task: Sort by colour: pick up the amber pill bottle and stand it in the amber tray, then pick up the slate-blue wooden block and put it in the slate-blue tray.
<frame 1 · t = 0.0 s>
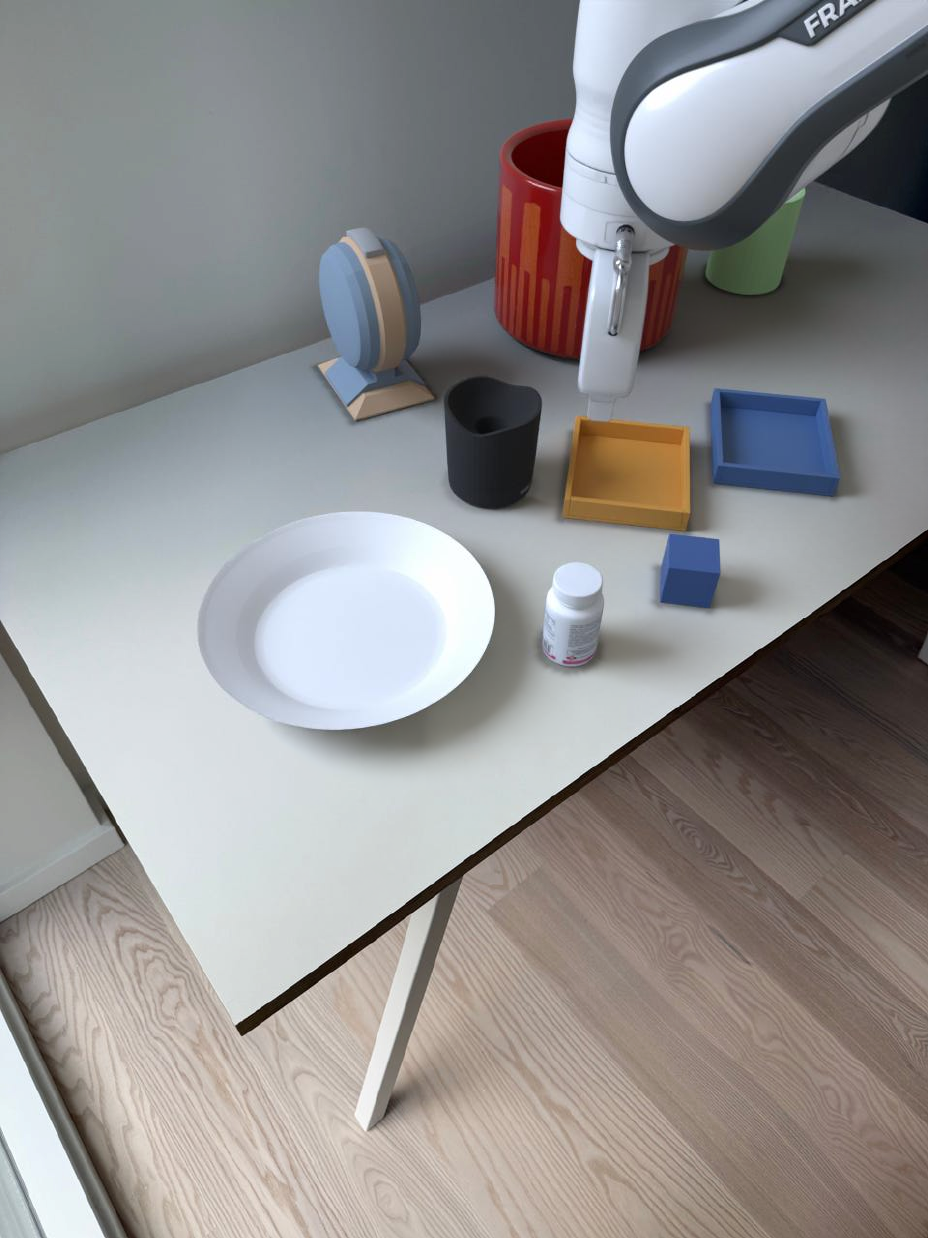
hand: (603, 380, 69), 21 cm above the table, tool pointing down, fingers open, 8 cm apart
blue tray: (768, 448, 97), on the table
bowl: (351, 637, 78), on the table
pen holder: (489, 484, 93), on the table
mug: (734, 274, 124), on the table
planter: (582, 320, 115), on the table
alarm clock: (375, 384, 105), on the table
pill bottle: (568, 648, 78), on the table
blue block: (684, 588, 83), on the table
amber tray: (626, 479, 93), on the table
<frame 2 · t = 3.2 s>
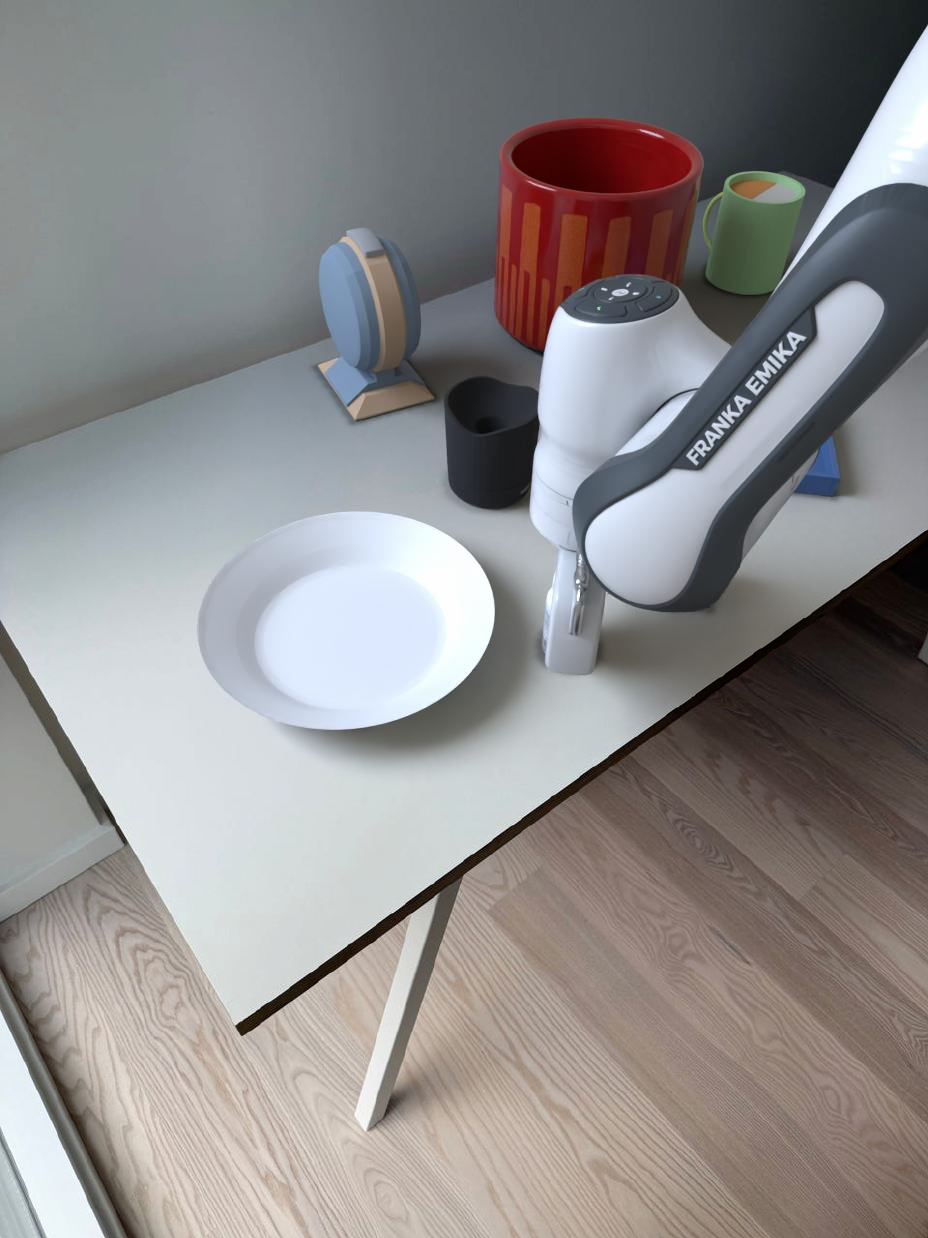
hand: (572, 622, 75), 3 cm above the table, tool pointing down, fingers closed on pill bottle, 5 cm apart
pill bottle: (568, 648, 78), on the table, touching gripper
everything else where it was.
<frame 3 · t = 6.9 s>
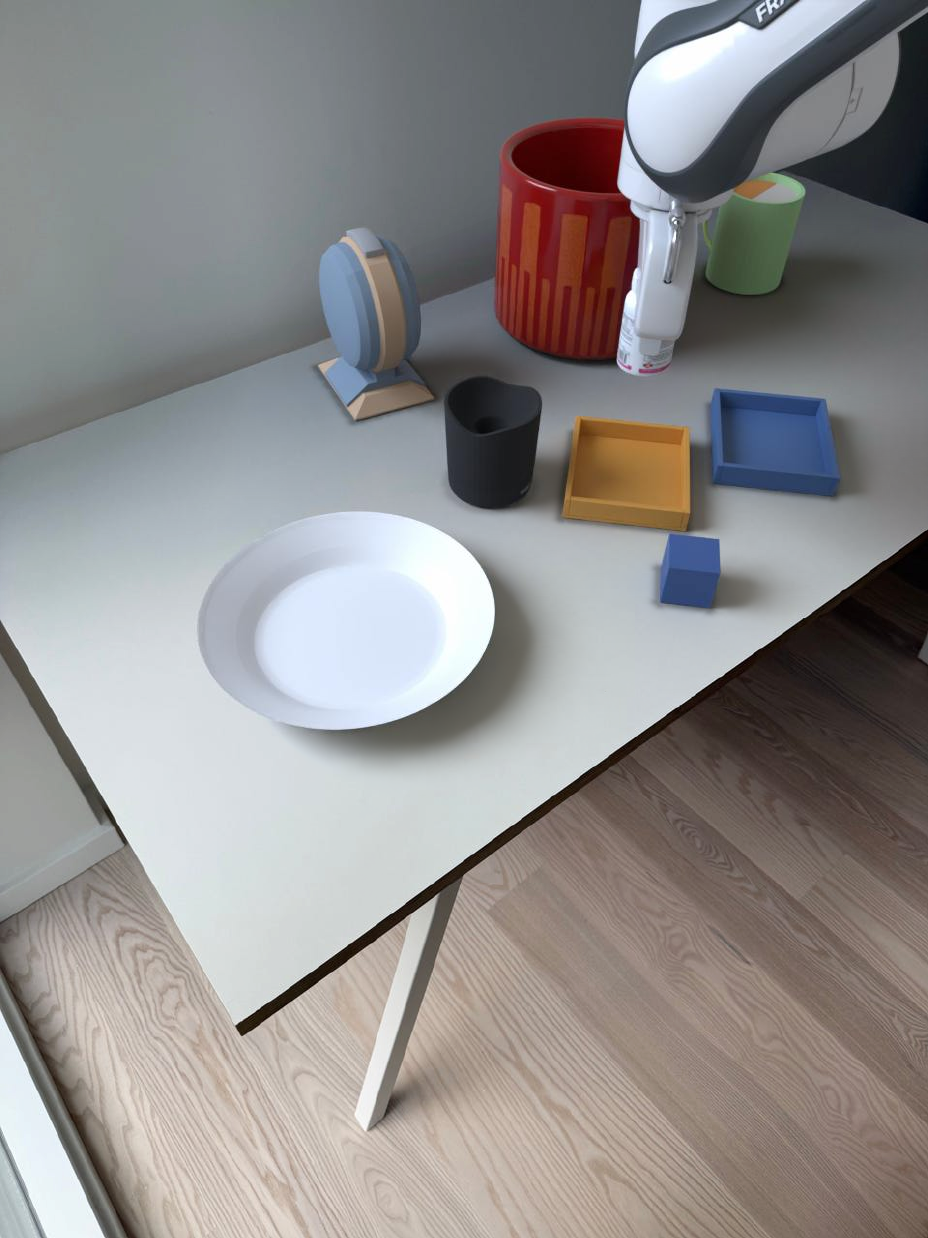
hand: (649, 331, 78), 19 cm above the table, tool pointing down, fingers closed on pill bottle, 5 cm apart
pill bottle: (642, 365, 80), point 15 cm above the table, touching gripper
everything else where it was.
when the fingers open (3 cm above the table, at t = 10.8 s): pill bottle stays where it is, resting on amber tray.
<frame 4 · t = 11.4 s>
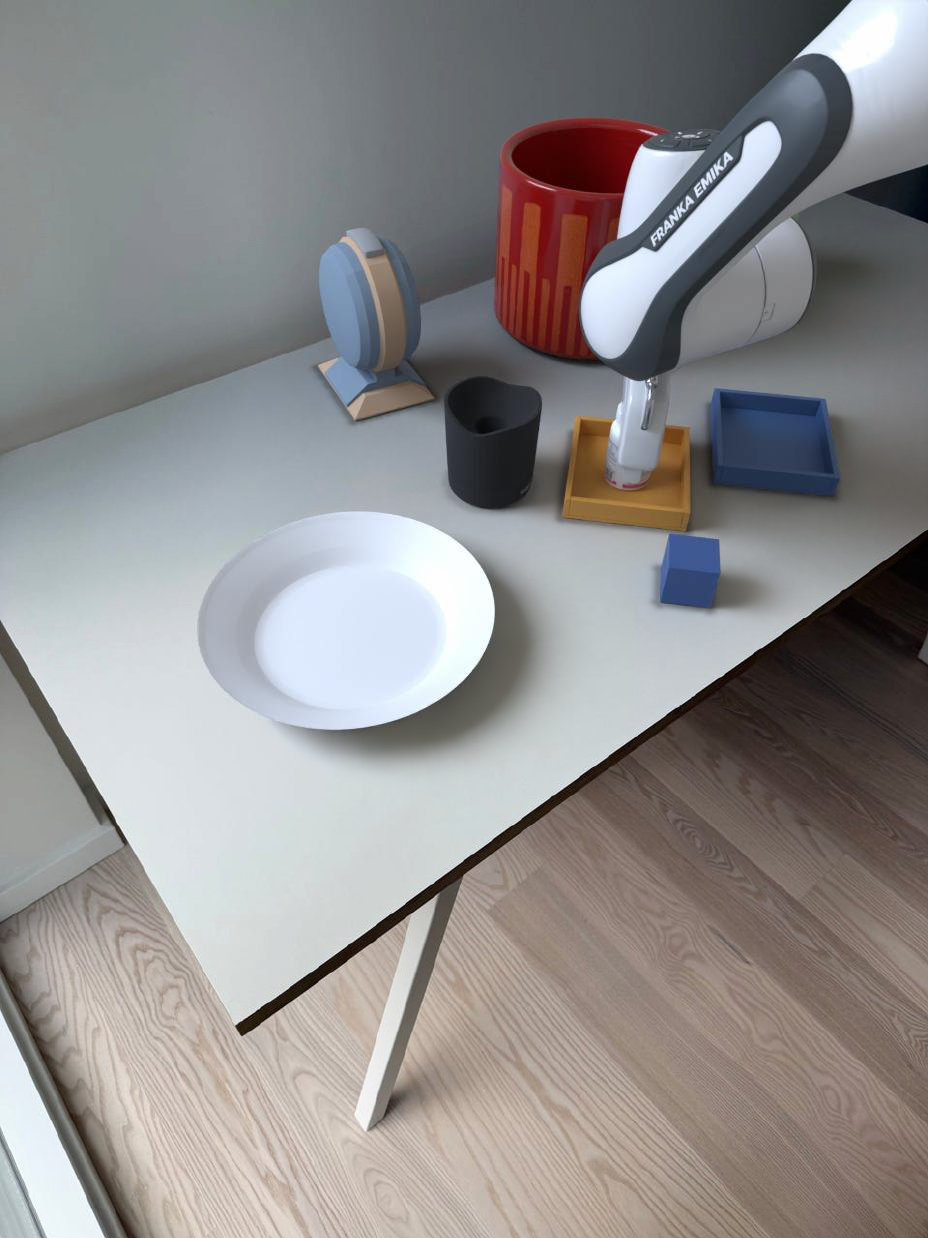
hand: (632, 449, 90), 4 cm above the table, tool pointing down, fingers open, 8 cm apart
pill bottle: (626, 479, 93), resting on amber tray
everything else where it was.
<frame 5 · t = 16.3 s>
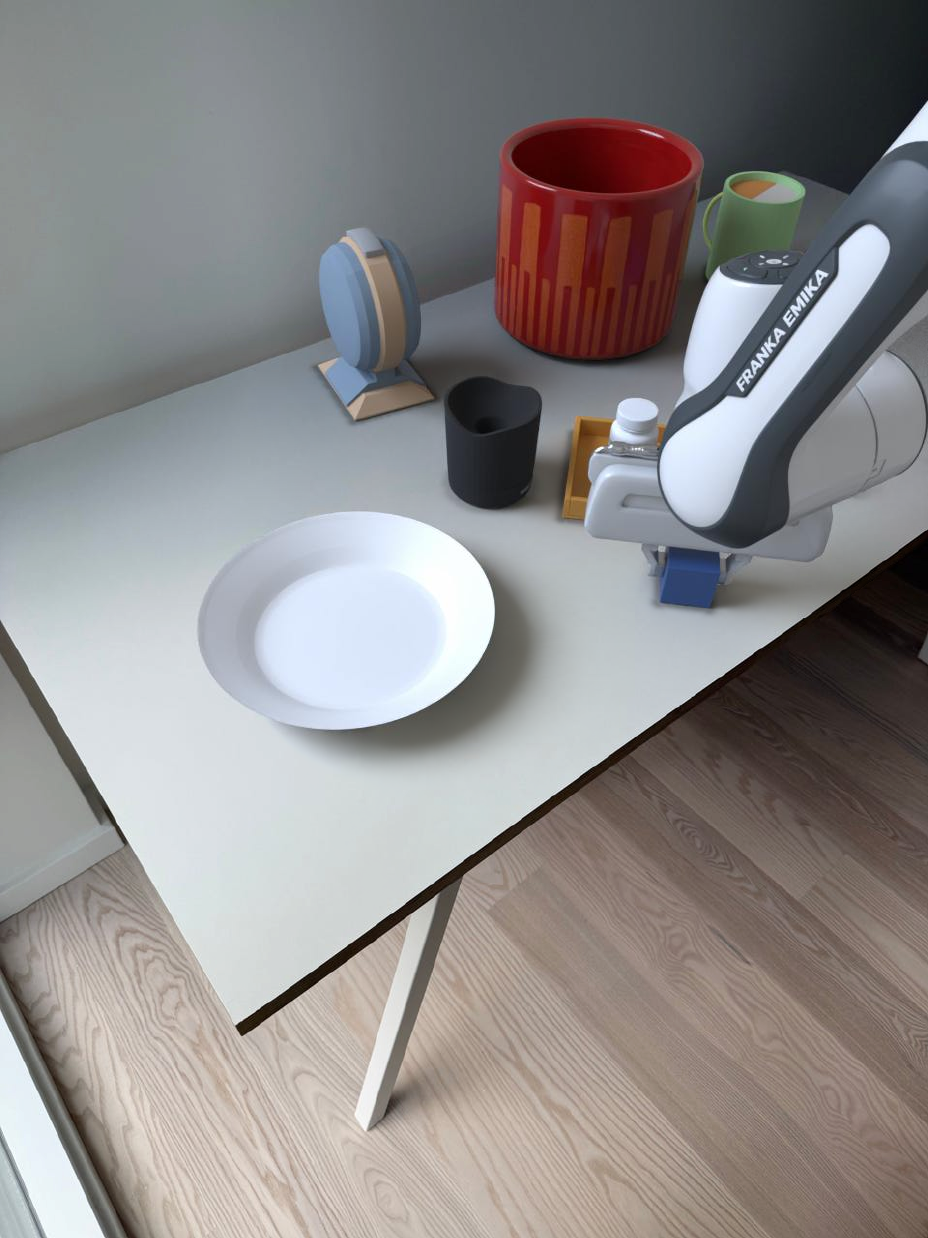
hand: (688, 576, 81), 2 cm above the table, tool pointing down, fingers closed on blue block, 4 cm apart
blue block: (684, 588, 83), on the table, touching gripper
everything else where it was.
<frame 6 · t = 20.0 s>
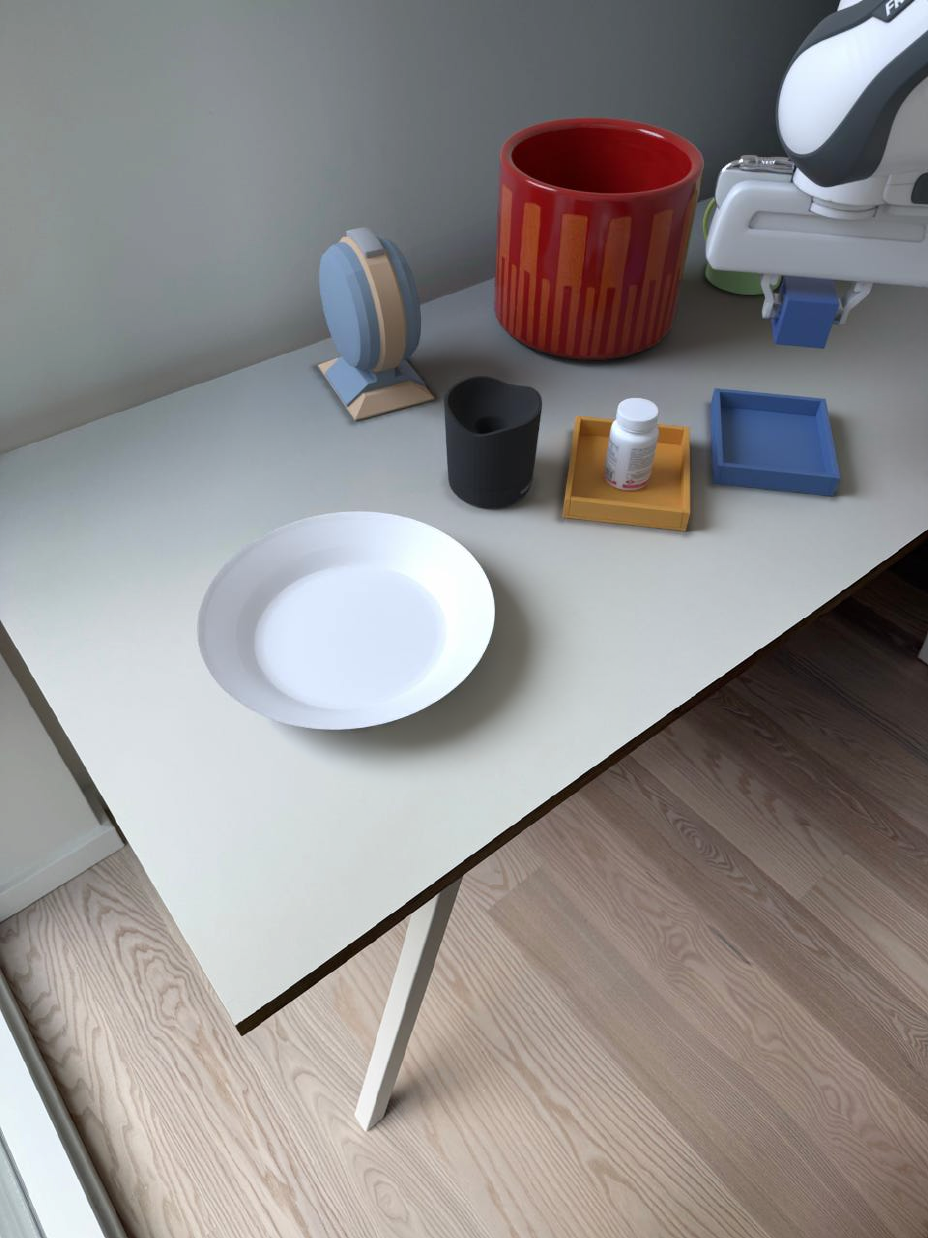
hand: (802, 318, 83), 17 cm above the table, tool pointing down, fingers closed on blue block, 4 cm apart
blue block: (797, 334, 84), point 15 cm above the table, touching gripper
everything else where it was.
when the fingers open (2 cm above the table, at t = 23.8 s): blue block stays where it is, resting on blue tray.
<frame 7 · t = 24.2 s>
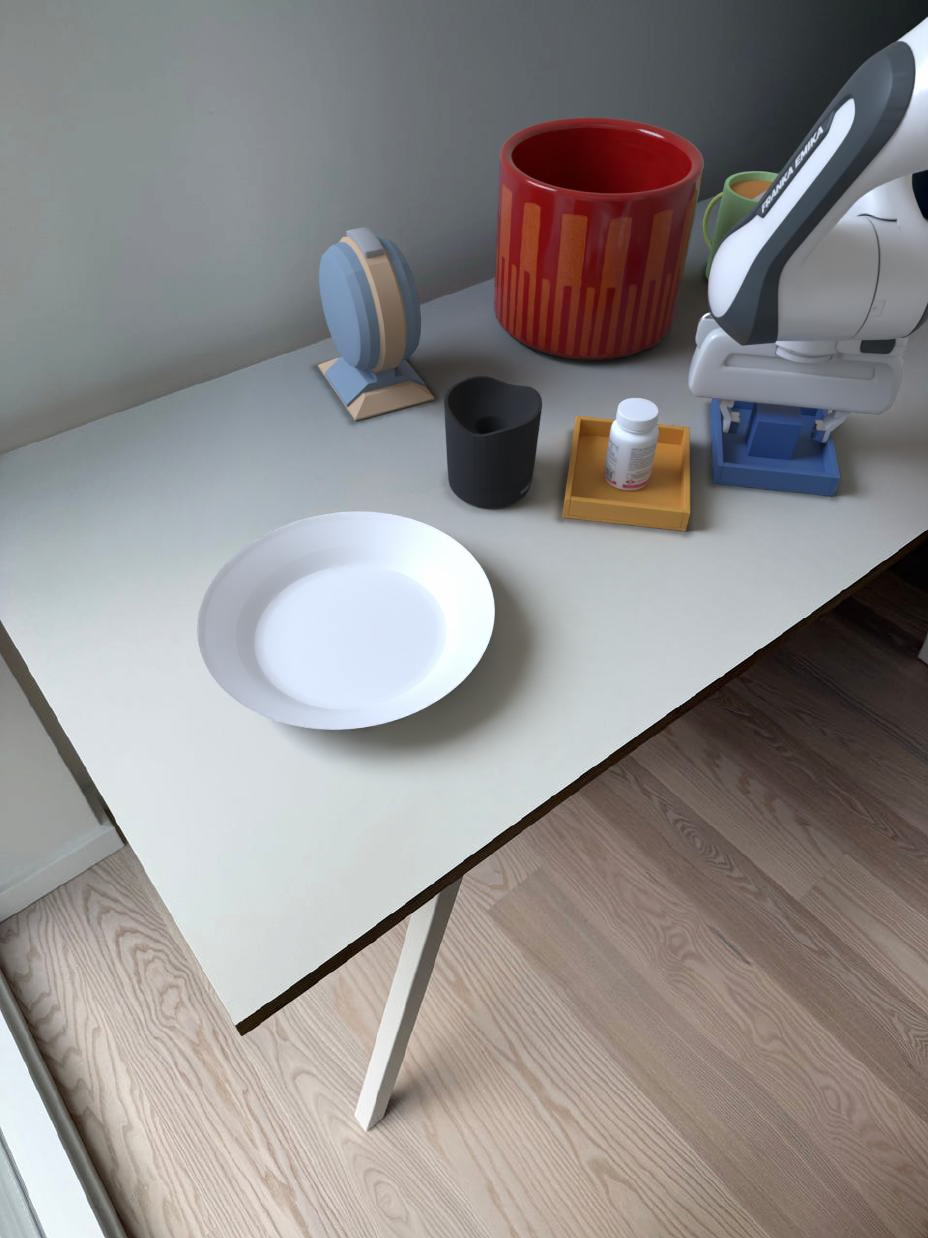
hand: (773, 434, 96), 2 cm above the table, tool pointing down, fingers open, 8 cm apart
blue block: (767, 445, 97), resting on blue tray
everything else where it was.
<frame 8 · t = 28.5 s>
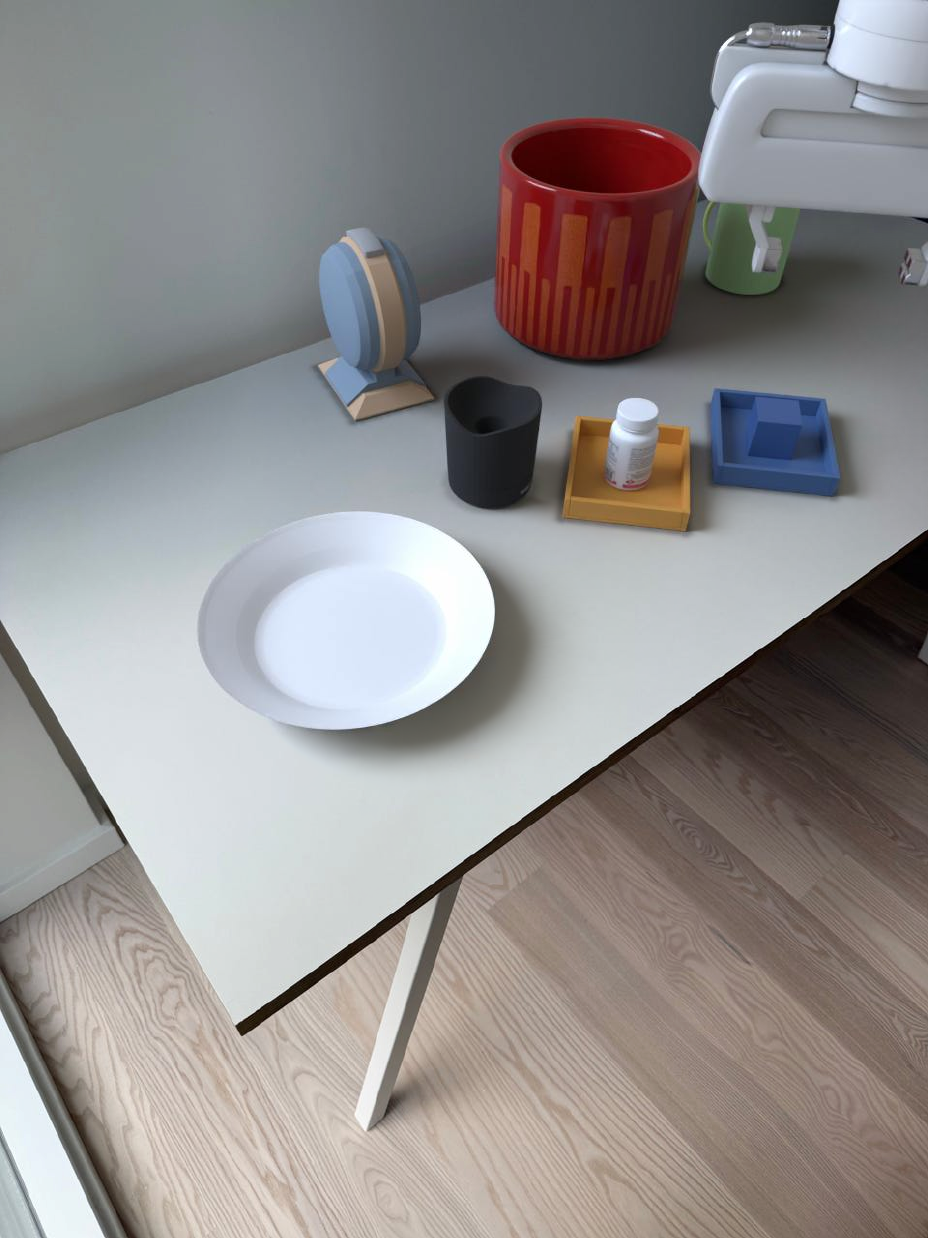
hand: (836, 275, 58), 31 cm above the table, tool pointing down, fingers open, 8 cm apart
nothing on the table moved.
at the end: pill bottle inside the target area in the amber tray (0.2 cm from its centre), point 0.2 cm above the amber tray's base; pill bottle tilted 0°; blue block inside the target area in the blue tray (0.2 cm from its centre), point 0.4 cm above the blue tray's base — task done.
